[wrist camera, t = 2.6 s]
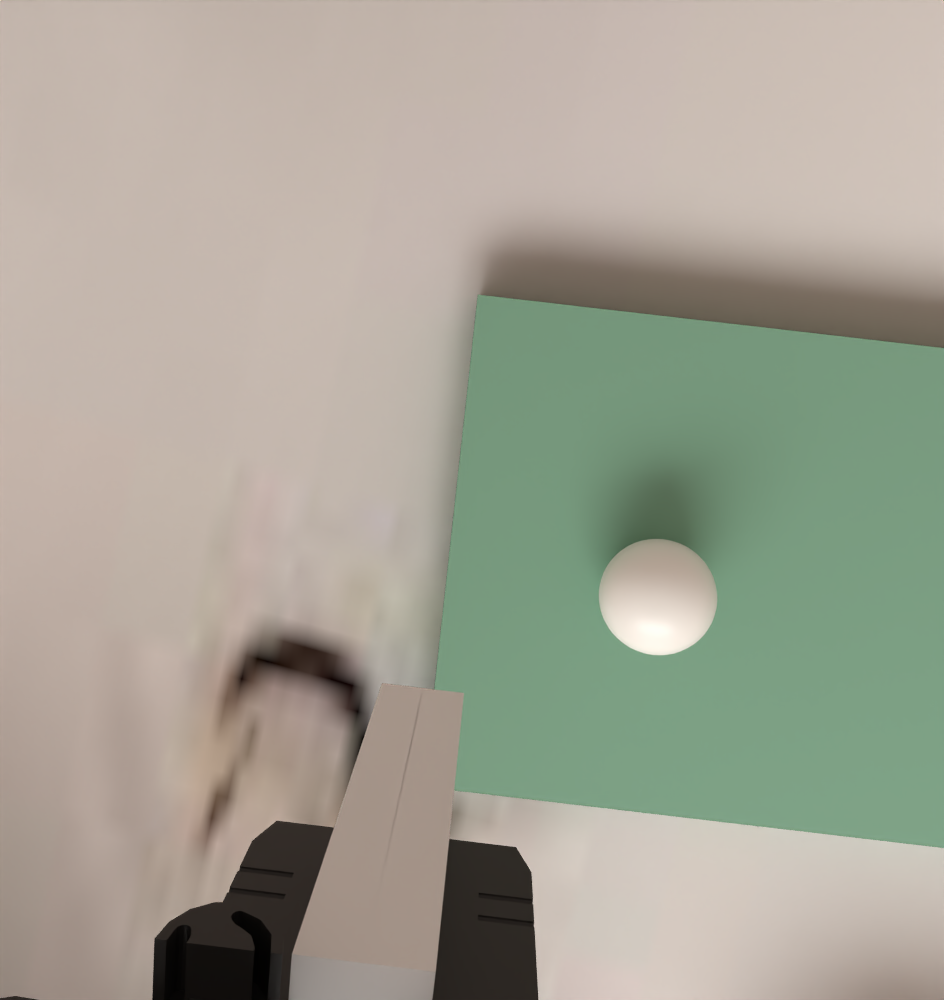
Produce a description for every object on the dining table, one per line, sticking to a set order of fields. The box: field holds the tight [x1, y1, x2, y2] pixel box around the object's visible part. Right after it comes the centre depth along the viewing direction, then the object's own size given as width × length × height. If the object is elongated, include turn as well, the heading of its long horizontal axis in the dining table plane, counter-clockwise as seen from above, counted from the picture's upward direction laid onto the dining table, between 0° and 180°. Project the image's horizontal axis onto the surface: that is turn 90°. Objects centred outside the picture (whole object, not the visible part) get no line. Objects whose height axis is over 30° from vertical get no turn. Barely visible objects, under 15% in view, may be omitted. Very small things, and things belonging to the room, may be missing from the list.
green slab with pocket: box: [434, 295, 944, 848], centre depth 29 cm, size 34×18×4 cm, turn 84°
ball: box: [599, 539, 717, 655], centre depth 27 cm, size 4×4×4 cm
